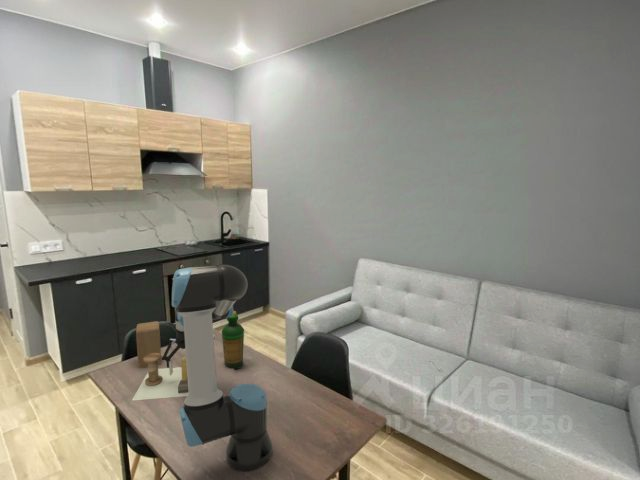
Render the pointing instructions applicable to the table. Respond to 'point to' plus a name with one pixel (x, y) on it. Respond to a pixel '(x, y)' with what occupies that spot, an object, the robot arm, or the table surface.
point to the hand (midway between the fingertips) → (187, 372)
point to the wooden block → (147, 341)
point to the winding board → (161, 386)
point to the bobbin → (153, 369)
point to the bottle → (233, 342)
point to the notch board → (183, 386)
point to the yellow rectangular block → (184, 369)
